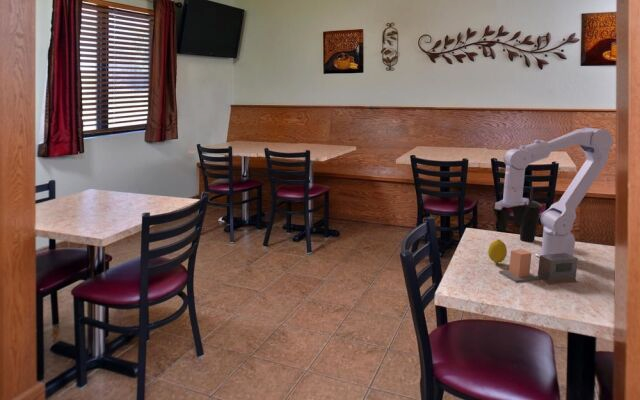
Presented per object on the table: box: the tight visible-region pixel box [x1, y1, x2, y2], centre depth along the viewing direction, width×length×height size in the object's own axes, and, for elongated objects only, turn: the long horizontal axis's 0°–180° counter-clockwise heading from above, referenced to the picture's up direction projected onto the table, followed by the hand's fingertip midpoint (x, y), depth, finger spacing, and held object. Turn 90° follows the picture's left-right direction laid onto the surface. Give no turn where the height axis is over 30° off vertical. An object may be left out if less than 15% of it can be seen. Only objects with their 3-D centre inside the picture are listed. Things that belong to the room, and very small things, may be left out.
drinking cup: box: [519, 186, 543, 243], centre depth 187 cm, size 8×8×20 cm
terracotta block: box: [508, 248, 532, 277], centre depth 152 cm, size 4×4×7 cm
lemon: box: [487, 239, 508, 264], centre depth 162 cm, size 6×6×8 cm
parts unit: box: [536, 253, 579, 285], centre depth 149 cm, size 9×6×7 cm, turn 105°
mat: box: [498, 269, 540, 283], centre depth 152 cm, size 8×8×1 cm
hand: (509, 228), depth 165 cm, fingers open, 7 cm apart
